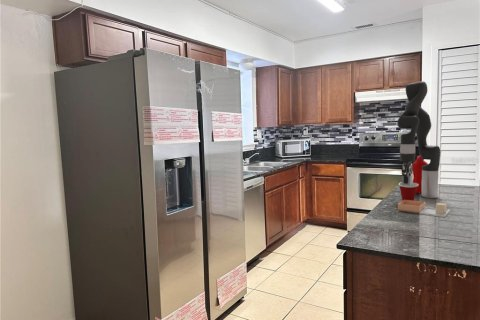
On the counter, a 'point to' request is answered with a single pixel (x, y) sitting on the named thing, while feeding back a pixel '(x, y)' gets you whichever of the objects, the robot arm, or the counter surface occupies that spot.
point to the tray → (433, 212)
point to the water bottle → (418, 173)
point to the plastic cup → (408, 191)
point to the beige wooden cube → (441, 208)
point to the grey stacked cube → (408, 180)
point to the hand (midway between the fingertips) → (407, 182)
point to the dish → (411, 206)
